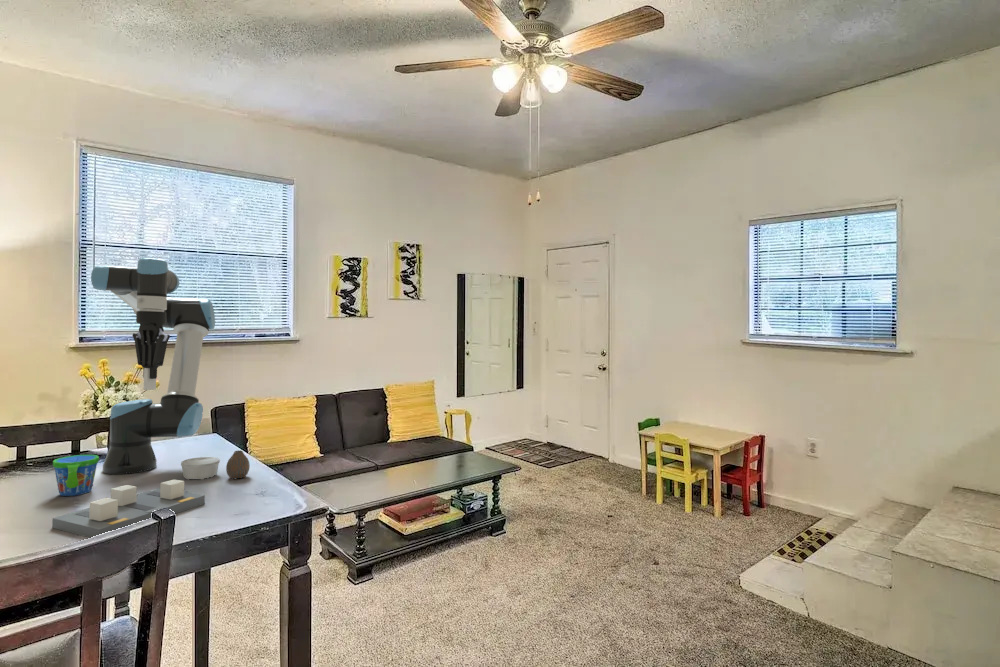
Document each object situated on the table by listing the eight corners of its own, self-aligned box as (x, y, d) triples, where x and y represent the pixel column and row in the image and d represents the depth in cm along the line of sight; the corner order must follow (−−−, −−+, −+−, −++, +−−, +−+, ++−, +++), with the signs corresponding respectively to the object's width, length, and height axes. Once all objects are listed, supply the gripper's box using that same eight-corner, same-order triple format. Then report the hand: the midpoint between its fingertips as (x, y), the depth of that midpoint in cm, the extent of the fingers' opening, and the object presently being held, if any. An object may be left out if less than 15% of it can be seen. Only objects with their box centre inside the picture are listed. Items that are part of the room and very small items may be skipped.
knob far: (160, 497, 145) (160, 483, 145) (173, 493, 149) (174, 479, 149) (170, 499, 144) (170, 484, 144) (184, 495, 148) (184, 481, 148)
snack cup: (61, 487, 160) (61, 453, 160) (103, 483, 164) (104, 451, 164) (43, 503, 146) (44, 466, 146) (91, 499, 150) (91, 463, 150)
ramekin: (213, 470, 183) (213, 454, 183) (224, 477, 175) (224, 461, 175) (176, 475, 176) (177, 459, 175) (185, 483, 168) (186, 466, 168)
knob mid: (110, 504, 139) (111, 488, 139) (126, 499, 143) (126, 484, 143) (121, 506, 138) (121, 490, 138) (136, 501, 141) (136, 486, 141)
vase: (231, 474, 178) (231, 448, 178) (252, 474, 179) (253, 448, 179) (222, 480, 171) (223, 453, 171) (244, 480, 172) (245, 453, 172)
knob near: (89, 518, 129) (89, 502, 129) (106, 513, 132) (107, 497, 132) (100, 521, 127) (100, 504, 127) (117, 516, 131) (117, 499, 131)
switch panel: (52, 527, 129) (52, 517, 129) (161, 495, 155) (162, 486, 155) (98, 539, 123) (99, 528, 123) (204, 503, 149) (204, 494, 149)
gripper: (124, 309, 157) (122, 389, 157) (154, 310, 152) (152, 392, 153) (148, 310, 164) (146, 387, 164) (178, 311, 159) (177, 389, 160)
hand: (149, 389), depth 158 cm, fingers closed
